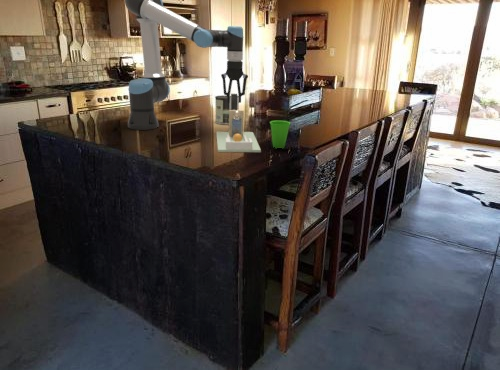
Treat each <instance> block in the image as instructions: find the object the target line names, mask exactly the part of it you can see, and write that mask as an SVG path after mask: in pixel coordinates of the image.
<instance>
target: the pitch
mask: <svg viewBox="0 0 500 370" xmlns="http://www.w3.org/2000/svg"><path fill="white" fill-rule="evenodd" d="M235 111H239V112H240V116H239V117H238V118H239V119H241V136H242V140H241V141H240V142H235V141H234V140H233V137H232V119H235V117H234V112H235ZM244 113H245V112H244V110H243V109H239V110H229V124H228V131H216V132H215V133H216V145H217V146H216V147H217V153H262V150H261V147H260V145H259V142H258V141H257V138H256V136H255V133H254V131H244V119H245V118H244V115H245V114H244Z"/></svg>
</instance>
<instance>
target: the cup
mask: <svg viewBox="0 0 500 370" xmlns="http://www.w3.org/2000/svg"><path fill="white" fill-rule="evenodd" d="M269 124H270V133H271V141H272V142H271V143H272V148H274V147H275V148H274V149H277V148H282V149H285V147H286V142H287V139H288V133H289V130H290V125H291V122H290V121H288V120H271V121H269Z"/></svg>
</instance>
